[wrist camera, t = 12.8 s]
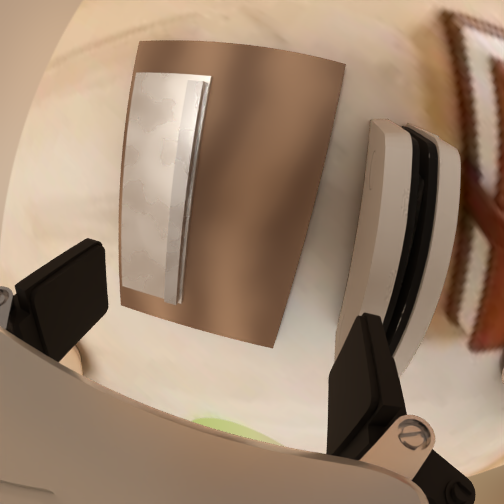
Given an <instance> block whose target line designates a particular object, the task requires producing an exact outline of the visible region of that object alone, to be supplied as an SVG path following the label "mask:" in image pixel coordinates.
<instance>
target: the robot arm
mask: <svg viewBox="0 0 504 504" xmlns="http://www.w3.org/2000/svg"><path fill="white" fill-rule="evenodd" d="M15 289H16V293H17V294H15V295H14V296H13V293H12V291H11V290H10V289H9V288H7V287H2V286H0V504H474V501H475V489H474V486H473V484H472V482H471V481H470V480H469V479H468V478H467V477H466V476H464V475H463V474H462V473H461V472H459V471H458V470H457V469H456V468H455V467H453V466H452V465H451V464H450V463H448V462H447V461H446V460H445V459H444V458H442V457H441V456H440V455H439V454H438V453H436V452H435V451H434V450H433V447H434V444H435V434H434V431H433V429H432V427H431V426H430V424H429V423H427V422H426V421H425V420H424V419H422V418H420V417H418V416H415V415H407V413H406V408H405V403H404V398H403V394H402V389H401V385H400V380H399V376H398V372H397V367H396V363H395V360H394V358H393V357H392V356H391V354H390V350H389V346H388V343H387V339H386V335H385V331H384V327H383V324H382V320H381V317H380V316H378V315H374V314H370V313H363V314H362V316H359V315H358V316H357V317H356V318H355V321H354V323H353V325H352V327H351V329H350V332H349V334H348V336H347V338H346V340H345V342H344V344H343V347H342V349H341V351H340V353H339V355H338V357H337V359H336V361H335V363H334V365H333V367H332V369H331V371H330V374H329V391H328V432H327V454H322V453H316V452H310V451H304V450H299V449H294V448H289V447H284V446H279V445H275V444H270V443H266V442H262V441H257V440H253V439H249V438H245V437H241V436H238V435H234V434H230V433H226V432H223V431H220V430H216V429H212V428H210V427H206V426H203V425H200V424H197V423H194V422H191V421H188V420H185V419H182V418H179V417H177V416H174V415H171V414H168V413H166V412H163V411H160V410H158V409H155V408H153V407H150V406H148V405H145V404H143V403H140V402H138V401H136V400H133V399H131V398H129V397H126V396H124V395H122V394H120V393H117V392H115V391H113V390H111V389H109V388H107V387H105V386H102V385H100V384H98V383H96V382H94V381H92V380H90V379H88V378H86V377H85V376H83V375H81V374H79V373H77V372H75V371H73V370H71V369H69V368H68V367H66V366H64V365H62V364H60V363H59V362H60V361H61V359H62V358H63V357H64V356H65V355H66V354H67V353H68V352H69V351H70V350H71V349H72V348H73V347H74V346H75V344H76V343H77V342H78V341H79V340H80V339H81V338H82V337H83V336H84V335H85V334H86V333H87V332H88V331H89V330H90V329H91V328H92V327H93V326H94V325H95V324H96V323H97V322H98V321H99V320H100V318H101V317H102V316H103V315H104V314H105V313H106V312H107V310H108V295H107V281H106V264H105V249H104V247H102V244H101V242H99V241H96V240H92V239H89V238H87V239H85V240H83V241H82V242H80V243H78V244H77V245H75V246H73V247H72V248H70V249H69V250H67V251H65V252H64V253H62V254H61V255H59V256H58V257H56V258H54V259H53V260H51V261H50V262H48V263H47V264H45V265H44V266H42V267H41V268H39V269H38V270H36V271H35V272H33V273H32V274H30V275H29V276H27V277H26V278H24V279H23V280H21V281H20V282H19V283H17V284H16V285H15ZM502 381H503V384H504V368H503V371H502Z"/></svg>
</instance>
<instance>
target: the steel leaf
mask: <svg viewBox="0 0 504 504" xmlns="http://www.w3.org/2000/svg"><path fill="white" fill-rule="evenodd" d="M212 79H213V77H212V76H204V75H192V74H176V73H136V76H135V82H134V88H133V94H132V100H131V107H130V114H129V122H128V131H127V140H126V150H125V161H124V174H123V191H122V219H121V263H122V286H124V287H127V288H130V289H134V290H137V291H140V292H143V293H146V294H150V295H153V296H156V297H160V298H163V299H164V302H167V303H170V304H173V305H176V304H177V303H180V304H181V303H182V302H183V294H184V282H185V270H186V259H187V249H188V239H189V230H190V221H191V213H192V205H193V197H194V189H195V182H196V174H197V167H198V160H199V154H200V147H201V141H202V135H203V128H204V122H205V117H206V111H207V105H208V100H209V94H210V89H211V84H212Z"/></svg>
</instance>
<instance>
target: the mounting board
mask: <svg viewBox="0 0 504 504" xmlns="http://www.w3.org/2000/svg"><path fill="white" fill-rule="evenodd" d="M345 65H346V64H343V63H339V62H336V61H332V60H328V59H323V58H319V57H315V56H310V55H305V54H301V53H296V52H290V51H285V50H279V49H273V48H266V47H259V46H251V45H243V44H233V43H222V42H207V41H139V46H138V50H137V55H136V60H135V65H134V71H133V76H132V82H131V88H130V94H129V101H128V108H127V115H126V123H125V131H124V141H123V151H122V163H121V177H120V197H119V278H120V297H121V305H122V306H125V307H128V308H131V309H134V310H137V311H140V312H143V313H146V314H149V315H152V316H155V317H158V318H162V319H165V320H168V321H171V322H175V323H178V324H181V325H185V326H188V327H192V328H195V329H199V330H202V331H206V332H209V333H213V334H217V335H221V336H224V337H228V338H232V339H236V340H240V341H244V342H248V343H252V344H256V345H261V346H265V347H269V348H273V346H274V343H275V340H276V336H277V333H278V330H279V327H280V324H281V320H282V317H283V314H284V310H285V307H286V304H287V300H288V297H289V294H290V290H291V287H292V283H293V280H294V276H295V273H296V269H297V266H298V262H299V259H300V255H301V252H302V248H303V244H304V241H305V237H306V233H307V230H308V226H309V222H310V218H311V214H312V211H313V207H314V203H315V199H316V195H317V191H318V187H319V183H320V179H321V175H322V171H323V167H324V162H325V158H326V154H327V150H328V145H329V141H330V137H331V132H332V128H333V123H334V119H335V114H336V109H337V105H338V100H339V95H340V90H341V86H342V81H343V76H344V70H345ZM136 73H176V74H192V75H204V76H212V77H213V79H212V84H211V89H210V94H209V100H208V105H207V111H206V117H205V122H204V128H203V135H202V141H201V147H200V154H199V160H198V167H197V174H196V182H195V189H194V197H193V205H192V213H191V221H190V230H189V239H188V249H187V259H186V270H185V282H184V294H183V302H182V303H181V304H180V303H177V304H176V305H173V304H170V303H167V302H164V299H163V298H160V297H156V296H153V295H150V294H146V293H143V292H140V291H137V290H134V289H130V288H127V287H124V286H122V263H121V219H122V191H123V174H124V161H125V150H126V140H127V131H128V122H129V114H130V107H131V100H132V94H133V88H134V82H135V76H136Z"/></svg>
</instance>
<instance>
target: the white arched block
mask: <svg viewBox="0 0 504 504" xmlns="http://www.w3.org/2000/svg"><path fill="white" fill-rule="evenodd" d="M460 171H461V163H460V156H459V153H458V150H457V149H456V148H455V147H453V146H451V145H450V144H448V143H446V142H445V141H443V140H441V139H440V138H439V136H437V135H435V134H433V133H430V132H428V131H426V130H424V129H421V128H419V127H417V126H414V125H412V124H409V123H407V127H404V126H402V128H401V127H400V126H398V125H397V124H395V123H394V122H392V121H390V120H389V119H376V120H370V133H369V144H368V154H367V163H366V172H365V180H364V188H363V195H362V202H361V209H360V216H359V222H358V228H357V234H356V240H355V245H354V251H353V256H352V262H351V267H350V272H349V277H348V282H347V286H346V291H345V295H344V300H343V304H342V309H341V313H340V317H339V321H338V325H337V330H336V340H335V361H336V359H337V357H338V355H339V353H340V351H341V349H342V347H343V344H344V342H345V340H346V338H347V336H348V334H349V332H350V329H351V327H352V325H353V323H354V321H355V318H356V317H357V316H358V315H359V316H362V314H363V313H370V314H374V315H378V316H380V317H381V320H382V324H383V327H384V331H385V335H386V339H387V343H388V346H389V350H390V354H391V356H392V357H393V358H394V360H395V363H396V367H397V372H398V376H399V378H400V376H401V375H402V373H403V372H404V371H405V369H406V368H407V366H408V365H409V363H410V361H411V360H412V358H413V356H414V355H415V353H416V351H417V349H418V347H419V345H420V344H421V342H422V340H423V338H424V336H425V333H426V331H427V329H428V327H429V325H430V322H431V320H432V317H433V314H434V312H435V309H436V306H437V304H438V301H439V298H440V295H441V292H442V288H443V285H444V282H445V279H446V275H447V271H448V267H449V262H450V258H451V253H452V249H453V243H454V238H455V232H456V226H457V219H458V209H459V197H460ZM334 363H335V362H334Z"/></svg>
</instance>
